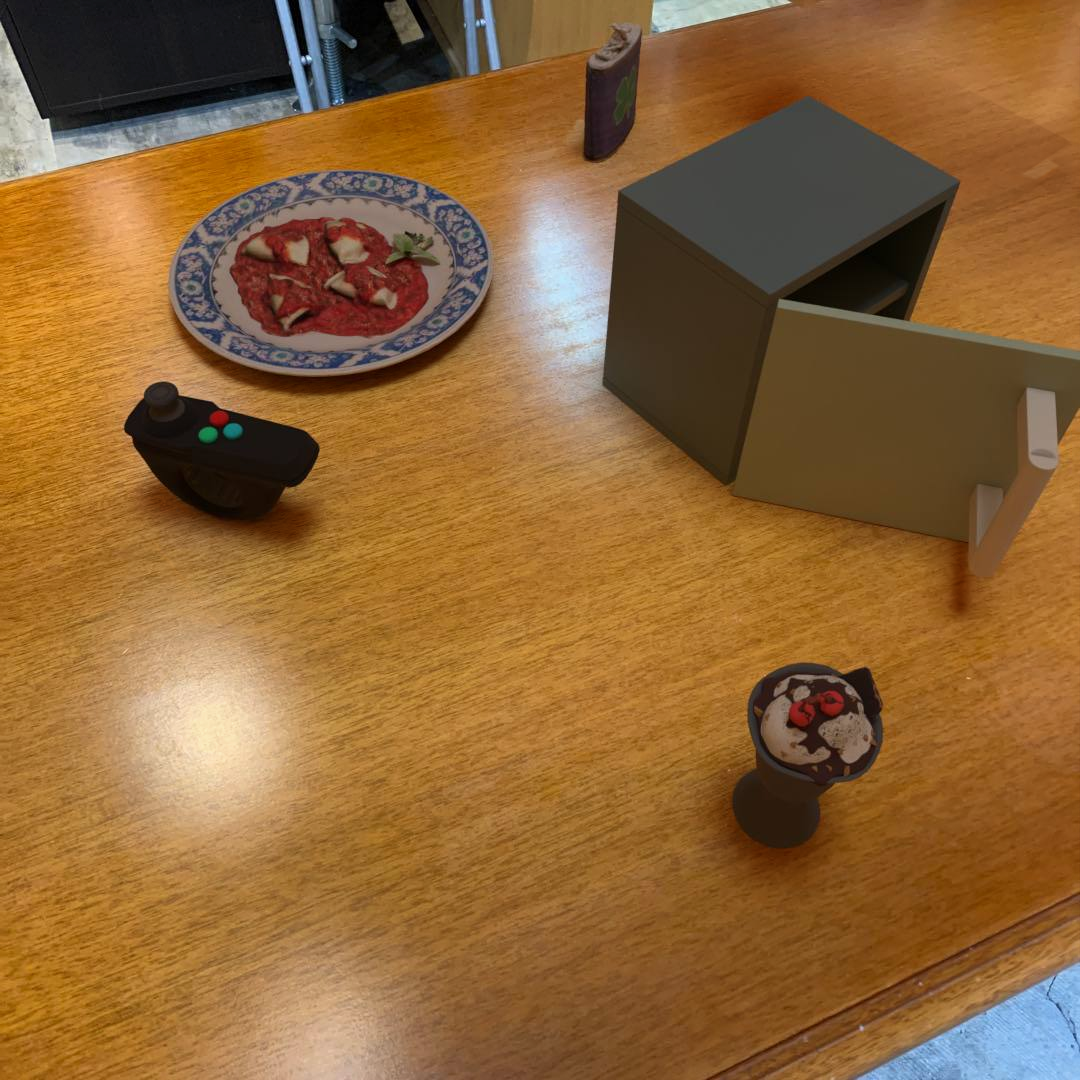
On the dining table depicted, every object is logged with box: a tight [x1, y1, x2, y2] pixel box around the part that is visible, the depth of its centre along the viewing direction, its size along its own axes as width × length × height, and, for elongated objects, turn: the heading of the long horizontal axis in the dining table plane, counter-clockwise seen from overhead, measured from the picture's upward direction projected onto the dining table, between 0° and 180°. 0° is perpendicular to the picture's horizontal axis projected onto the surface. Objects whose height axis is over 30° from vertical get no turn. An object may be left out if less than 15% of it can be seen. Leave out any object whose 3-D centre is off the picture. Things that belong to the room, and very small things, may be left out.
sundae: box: [731, 661, 884, 850], centre depth 55 cm, size 7×7×15 cm
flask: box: [582, 21, 643, 163], centre depth 98 cm, size 9×3×11 cm, turn 155°
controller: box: [123, 381, 321, 522], centre depth 70 cm, size 4×12×10 cm, turn 73°
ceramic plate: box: [167, 169, 494, 378], centre depth 87 cm, size 26×26×3 cm
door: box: [732, 299, 1080, 579], centre depth 66 cm, size 7×18×17 cm, turn 76°
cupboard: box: [601, 95, 962, 487], centre depth 76 cm, size 13×18×17 cm
